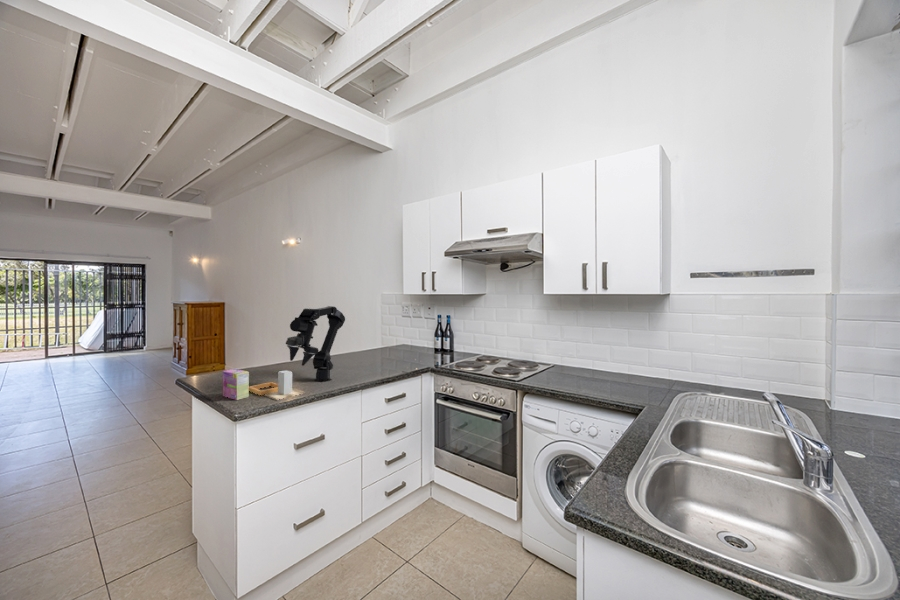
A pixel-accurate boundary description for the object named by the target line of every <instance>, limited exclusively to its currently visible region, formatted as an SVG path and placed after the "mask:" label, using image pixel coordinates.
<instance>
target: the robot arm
mask: <svg viewBox="0 0 900 600" xmlns="http://www.w3.org/2000/svg"><path fill="white" fill-rule="evenodd" d="M323 316H326V318H327V319H328V326H329V327H328V329H327V332H326V335H325V338H324V340H323V343H322V345H321V348H320V350H319V347H315V346H311V345H312V344H310V342H311V339H313V338H314V336H313V333H314V330H315V326H316V327H317V326H318V323H317V321H316V320H318V319H320V317H323ZM345 322H346V317H345V315H344V314H343V312H341V311H340V310H339V309H337V307H336V306H332V305H331V306H330V305H327V306H326V307H319V308H303V309H302V311H301V312H300V314H299V315H298V317H294V320H292V321H291V322H290V324H289V328H290V330H291V331H292V332H298V333H297V334H296V336H295V335H294V336H290V337H287V339H286V341H285V345H286V347H287V348H288V350H289V360H290V361H293V360H294V358H295V357H296V355H297V353H298V352H299V350H300V348H301V349H303V351H302V353H303V358H302V362H301V366H303V367H304V366H305V365H306V364H307V362H309V360H311V359H312V358H313V359H312V365H313V370H316V372H315V379H314V381H317V382H321V383H323V381H324V382H327V381H331V380H332V378H331V373H330V372H331V371H332V370H333V368H334V364H333V363H332V361H331V358H332V357H331V353H330V352H331V350H332V347H333V345H334V344H333V343H334V342H335V340H336V337H337V335H338V334H337V333H338V331H339V330H340V328H342V327H343V325H344V323H345Z"/></svg>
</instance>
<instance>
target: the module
mask: <svg viewBox="0 0 900 600" xmlns="http://www.w3.org/2000/svg"><path fill="white" fill-rule="evenodd" d="M277 384H278V393H280V394H282V395H286V394H290V393H292V388H293V372H292V371H291V370H287V369H286V370H281V371H278V373H277Z"/></svg>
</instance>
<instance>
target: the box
mask: <svg viewBox="0 0 900 600" xmlns="http://www.w3.org/2000/svg"><path fill="white" fill-rule="evenodd" d="M249 380H250V372H249V371H246V370H243V369H242V370H241V369H238V368H237V369H236V368H232V369H227V370H223V371H222V396H225V397H224V398H227V397H228V399H232V400H235V401H238V400H239V401H240V400H242V399H247V398H249V394H250V392H249V386H250V385H249V383H250V382H249Z"/></svg>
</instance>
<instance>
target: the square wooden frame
mask: <svg viewBox="0 0 900 600" xmlns="http://www.w3.org/2000/svg"><path fill="white" fill-rule="evenodd" d="M269 386H271V387H269ZM264 387H266V388H267V389H265V388H264ZM273 387H274V388H273ZM260 388H262V389H260ZM249 391H250V392H249V393H252V392H253V393H252V394H254V393H255V395H257V394H258V395H257V396H260V395H261V396H265V395H264V394H268V393H273V392H277V391H278V383H275V382H273V381H271V382H265V383H260V384H259V383H258V384H255V385H249Z"/></svg>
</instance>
